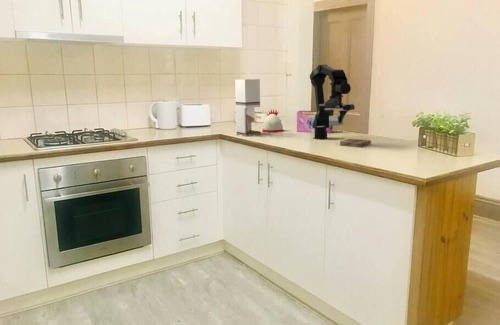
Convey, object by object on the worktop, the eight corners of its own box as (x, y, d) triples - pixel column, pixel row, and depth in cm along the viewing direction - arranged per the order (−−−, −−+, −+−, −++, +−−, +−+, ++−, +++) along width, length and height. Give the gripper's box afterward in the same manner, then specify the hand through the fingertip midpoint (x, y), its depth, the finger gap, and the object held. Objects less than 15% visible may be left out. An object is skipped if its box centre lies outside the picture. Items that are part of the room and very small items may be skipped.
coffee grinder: (246, 136, 258) (244, 79, 251) (236, 134, 267) (235, 79, 260) (260, 134, 265) (259, 79, 258) (250, 133, 273) (249, 79, 266)
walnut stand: (339, 145, 219) (340, 141, 218) (350, 142, 228) (350, 138, 227) (361, 147, 211) (361, 143, 211) (370, 144, 220) (371, 140, 220)
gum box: (334, 132, 270) (335, 111, 267) (330, 133, 264) (331, 112, 261) (300, 130, 282) (301, 110, 279) (296, 131, 275) (296, 111, 272)
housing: (329, 125, 222) (329, 115, 221) (334, 124, 227) (334, 115, 226) (337, 125, 219) (337, 116, 218) (342, 124, 223) (343, 115, 222)
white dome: (283, 132, 274) (283, 109, 270) (262, 132, 274) (262, 110, 271) (282, 129, 287) (282, 108, 284) (262, 130, 288) (262, 108, 284)
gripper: (313, 94, 220) (313, 123, 223) (345, 94, 208) (344, 125, 211) (324, 93, 228) (323, 121, 231) (355, 93, 216) (354, 123, 219)
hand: (336, 122), depth 223 cm, fingers closed on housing, 5 cm apart
